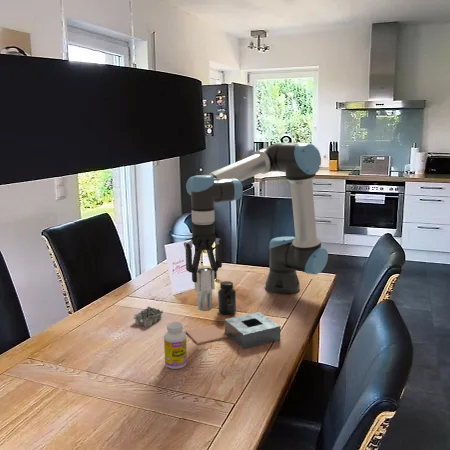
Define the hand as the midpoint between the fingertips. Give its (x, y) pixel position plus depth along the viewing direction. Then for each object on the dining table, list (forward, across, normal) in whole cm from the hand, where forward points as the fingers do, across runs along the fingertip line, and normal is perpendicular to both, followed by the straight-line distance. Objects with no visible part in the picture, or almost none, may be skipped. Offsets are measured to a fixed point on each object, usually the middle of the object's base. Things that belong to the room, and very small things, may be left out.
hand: (204, 289), depth 159 cm
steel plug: (+7, 0, 0) cm, 7 cm away
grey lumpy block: (+17, +14, -22) cm, 31 cm away
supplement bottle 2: (+17, -16, -15) cm, 27 cm away
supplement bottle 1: (+17, +16, +14) cm, 28 cm away
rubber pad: (+17, 0, 0) cm, 17 cm away
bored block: (+17, -14, +8) cm, 23 cm away
